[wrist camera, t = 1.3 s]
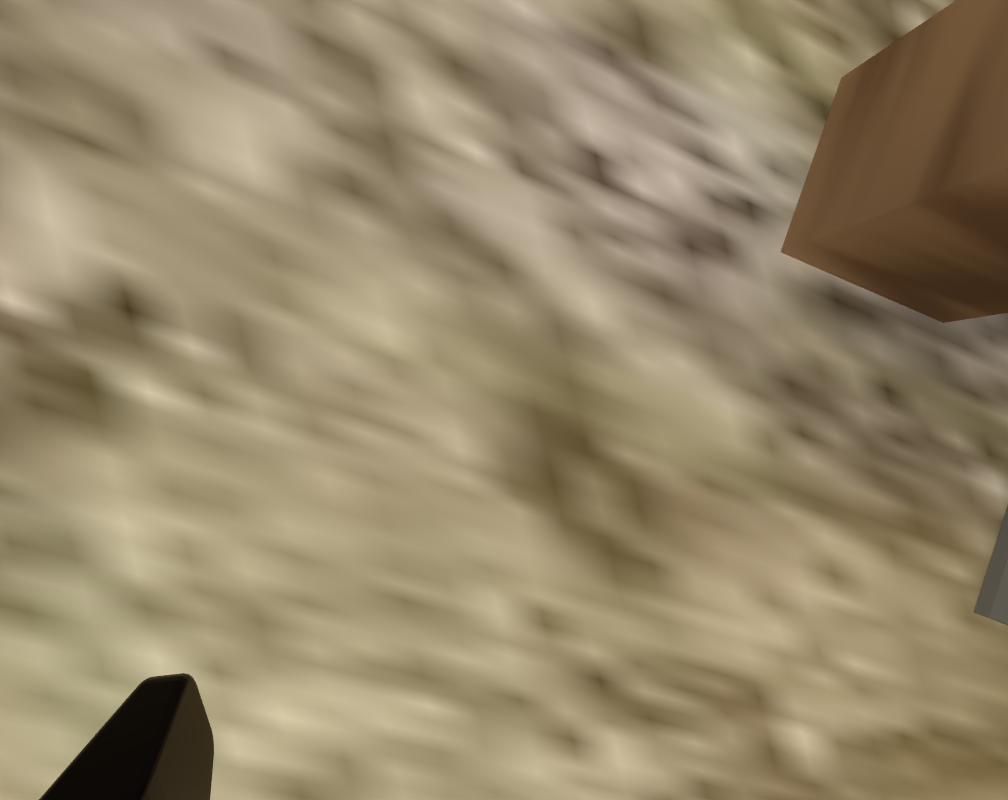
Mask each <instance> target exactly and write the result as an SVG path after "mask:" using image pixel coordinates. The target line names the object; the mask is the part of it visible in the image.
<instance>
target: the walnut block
mask: <svg viewBox="0 0 1008 800" xmlns="http://www.w3.org/2000/svg"><path fill="white" fill-rule="evenodd" d="M781 252H782V253H784V254H787V255H789V256H791V257H794V258H796V259H798V260H800V261H803V262H805V263H807V264H810V265H812V266H814V267H817V268H819V269H821V270H823V271H826V272H828V273H830V274H833V275H835V276H837V277H840V278H842V279H844V280H846V281H849V282H851V283H853V284H856V285H858V286H860V287H863V288H865V289H867V290H869V291H872V292H874V293H876V294H879V295H881V296H883V297H886V298H888V299H890V300H892V301H895V302H897V303H899V304H902V305H904V306H906V307H909V308H911V309H913V310H915V311H918V312H920V313H922V314H925V315H927V316H929V317H932V318H934V319H936V320H938V321H941V322H943V323H944V322H950V321H957V320H963V319H970V318H976V317H983V316H989V315H995V314H1002V313H1008V0H956V1H955V2H953V3H952V4H950V5H949V6H947V7H946V8H944V9H943V10H942V11H940V12H939V13H937V14H936V15H934V16H933V17H931V18H930V19H928V20H927V21H925V22H924V23H922V24H921V25H919V26H918V27H916V28H915V29H913V30H912V31H910V32H909V33H907V34H906V35H904V36H903V37H901V38H900V39H898V40H897V41H895V42H894V43H892V44H891V45H890V46H888V47H887V48H885V49H884V50H882V51H881V52H879V53H878V54H876V55H875V56H873V57H872V58H870V59H869V60H867V61H866V62H864V63H863V64H861V65H860V66H858V67H857V68H855V69H854V70H852V71H851V72H849V73H848V74H846V75H845V76H843V77H842V78H841V81H840V84H839V87H838V90H837V93H836V95H835V98H834V101H833V104H832V107H831V110H830V113H829V115H828V118H827V121H826V124H825V127H824V130H823V133H822V136H821V138H820V141H819V144H818V147H817V150H816V153H815V156H814V158H813V161H812V164H811V167H810V170H809V173H808V176H807V178H806V181H805V184H804V187H803V190H802V193H801V196H800V198H799V201H798V204H797V207H796V210H795V213H794V216H793V218H792V221H791V224H790V227H789V230H788V233H787V236H786V238H785V241H784V244H783V247H782V250H781Z"/></svg>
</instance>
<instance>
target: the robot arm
mask: <svg viewBox="0 0 1008 800" xmlns="http://www.w3.org/2000/svg"><path fill="white" fill-rule="evenodd" d="M213 759H214V742H213V734H212V730H211V727H210V724H209V721H208V718H207V715H206V712H205V708H204V705H203V702H202V699H201V696H200V693H199V690H198V687H197V685H196V682H195V680H194V679H193V678H192V676H190V675H189V674H184V673H182V674H174V675H165V676H156V677H150V678H148V679H146V680H144V681H143V682H142V683H140V684H139V685H138V687H137V688H136V689H135V690H134V691H133V692H132V693H131V695H130V696H129V697H128V698H127V699H126V700H125V702H124V703H123V704H122V705H121V706H120V707H119V708H118V710H117V711H116V712H115V713H114V714H113V715H112V716H111V718H110V719H109V720H108V721H107V722H106V723H105V725H104V726H103V727H102V728H101V729H100V730H99V731H98V733H97V734H96V735H95V736H94V737H93V738H92V739H91V741H90V742H89V743H88V744H87V745H86V746H85V748H84V749H83V750H82V751H81V752H80V753H79V754H78V756H77V757H76V758H75V759H74V760H73V761H72V762H71V764H70V765H69V766H68V767H67V768H66V769H65V770H64V772H63V773H62V774H61V775H60V776H59V777H58V779H57V780H56V781H55V782H54V783H53V784H52V785H51V787H50V788H49V789H48V790H47V791H46V792H45V793H44V795H43V796H42V797H41V798H40V799H39V800H210V793H211V781H212V770H213Z"/></svg>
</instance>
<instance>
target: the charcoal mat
mask: <svg viewBox="0 0 1008 800" xmlns="http://www.w3.org/2000/svg"><path fill="white" fill-rule="evenodd" d="M974 613H977V614H980V615H982V616H985V617H988V618H990V619H993V620H995V621H998V622H1001V623H1003V624H1006V625H1008V508H1007V511H1006V514H1005V517H1004V520H1003V523H1002V526H1001V530H1000V533H999V536H998V539H997V542H996V545H995V548H994V551H993V554H992V558H991V561H990V564H989V567H988V570H987V573H986V576H985V579H984V582H983V586H982V589H981V592H980V595H979V598H978V601H977V604H976V607H975V610H974Z"/></svg>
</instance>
